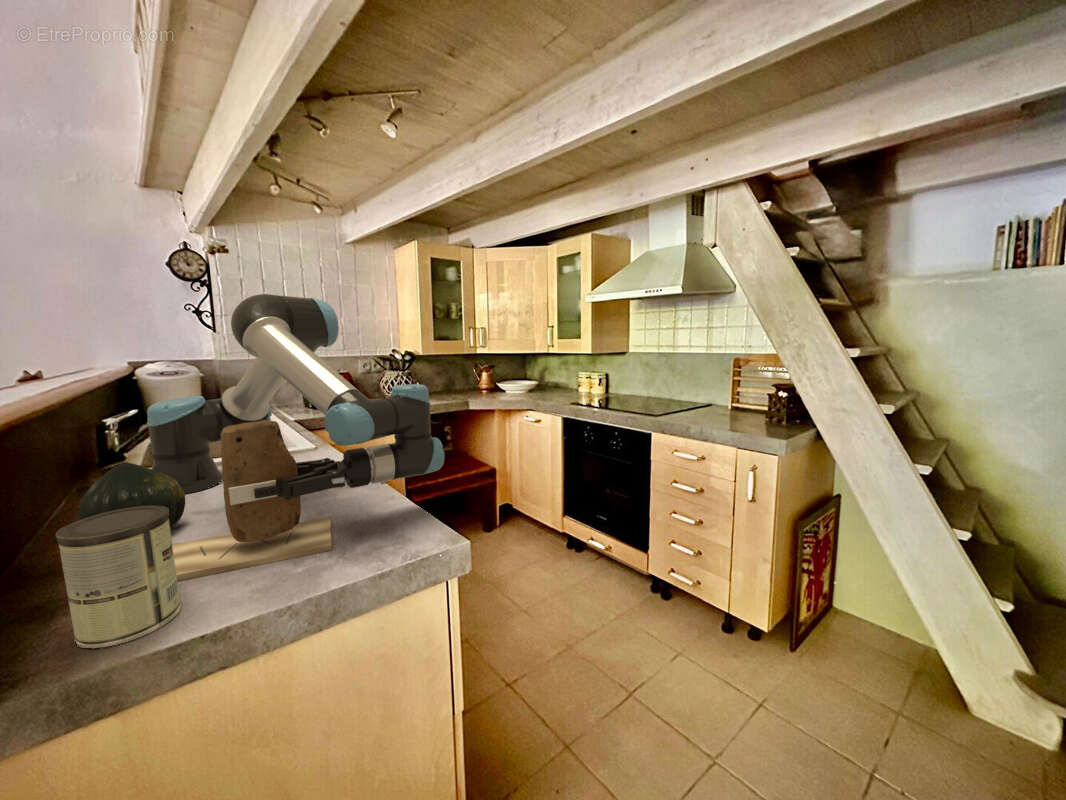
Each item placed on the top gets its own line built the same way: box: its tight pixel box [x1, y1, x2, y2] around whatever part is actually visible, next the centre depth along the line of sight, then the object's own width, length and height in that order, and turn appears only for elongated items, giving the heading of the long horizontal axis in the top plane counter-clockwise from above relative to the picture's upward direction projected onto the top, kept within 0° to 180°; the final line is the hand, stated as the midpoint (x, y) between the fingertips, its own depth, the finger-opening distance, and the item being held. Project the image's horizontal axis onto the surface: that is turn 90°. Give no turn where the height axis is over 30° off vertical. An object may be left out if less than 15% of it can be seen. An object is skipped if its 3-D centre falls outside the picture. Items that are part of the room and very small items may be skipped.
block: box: [220, 420, 302, 542], centre depth 75 cm, size 11×8×20 cm
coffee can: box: [55, 505, 182, 647], centre depth 55 cm, size 10×10×14 cm
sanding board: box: [172, 516, 333, 582], centre depth 75 cm, size 14×28×1 cm, turn 116°
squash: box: [77, 461, 186, 528], centre depth 82 cm, size 14×15×15 cm
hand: (229, 489), depth 72 cm, fingers closed on block, 8 cm apart
